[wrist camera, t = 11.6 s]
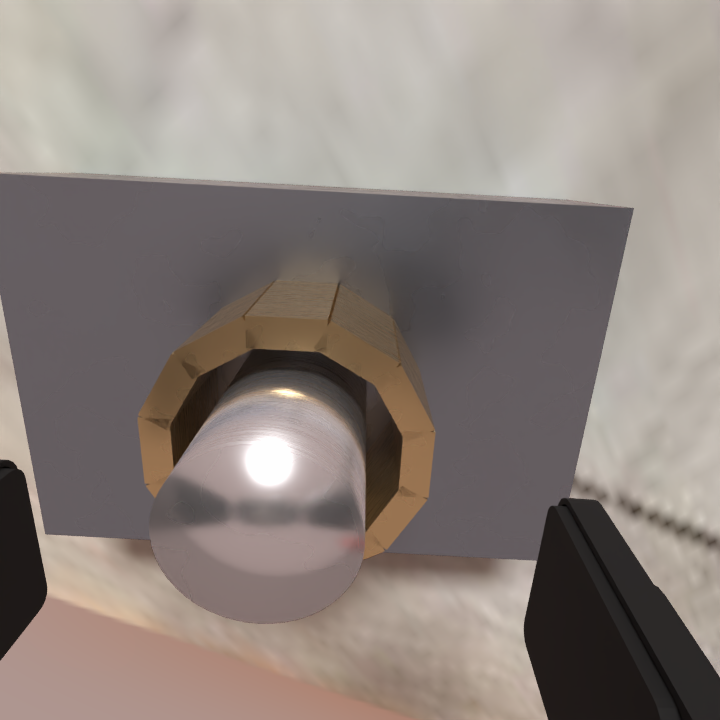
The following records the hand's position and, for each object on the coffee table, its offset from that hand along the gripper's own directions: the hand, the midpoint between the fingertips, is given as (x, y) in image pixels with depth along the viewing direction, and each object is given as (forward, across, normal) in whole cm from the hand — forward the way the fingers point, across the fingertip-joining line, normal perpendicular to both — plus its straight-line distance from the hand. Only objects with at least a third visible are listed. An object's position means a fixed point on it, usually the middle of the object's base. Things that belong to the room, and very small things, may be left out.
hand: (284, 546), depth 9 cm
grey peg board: (+12, +1, 0) cm, 12 cm away
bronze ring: (+7, +1, 0) cm, 7 cm away
